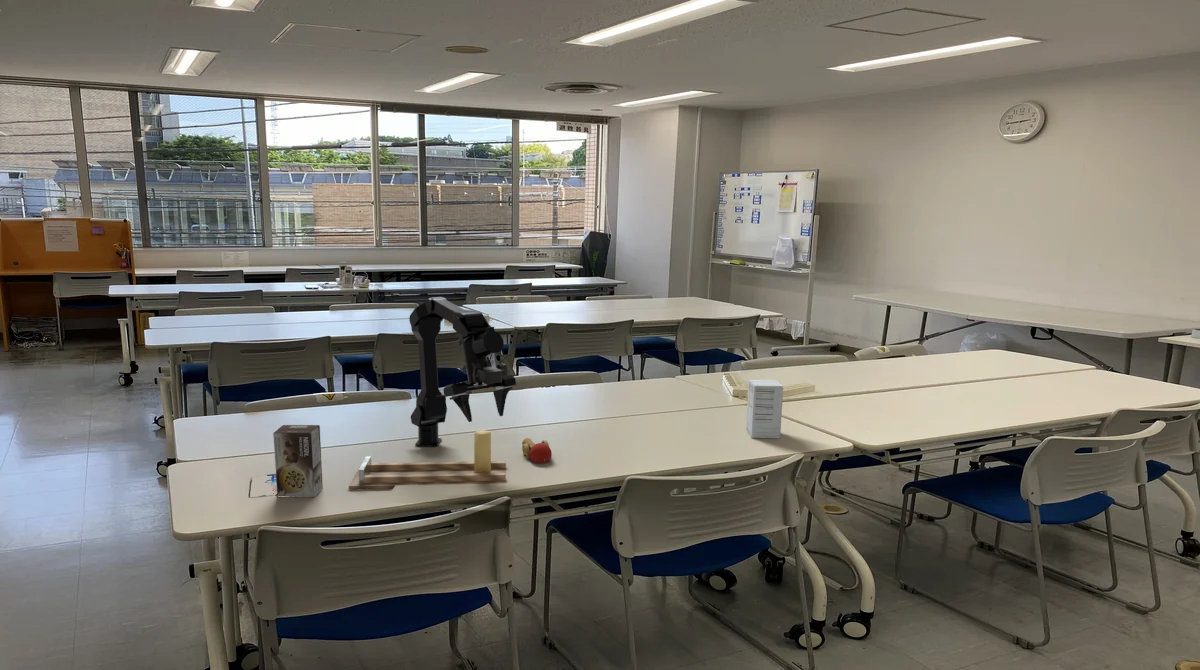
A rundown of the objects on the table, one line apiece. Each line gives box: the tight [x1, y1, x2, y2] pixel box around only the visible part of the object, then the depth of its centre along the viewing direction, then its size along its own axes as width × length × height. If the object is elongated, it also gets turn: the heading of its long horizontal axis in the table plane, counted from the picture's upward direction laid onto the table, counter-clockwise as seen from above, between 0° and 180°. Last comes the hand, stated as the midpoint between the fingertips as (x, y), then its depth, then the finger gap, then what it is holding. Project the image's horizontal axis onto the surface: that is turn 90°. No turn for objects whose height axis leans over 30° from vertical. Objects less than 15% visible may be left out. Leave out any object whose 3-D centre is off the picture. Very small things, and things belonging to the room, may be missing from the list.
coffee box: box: [272, 424, 324, 498], centre depth 180 cm, size 9×6×16 cm
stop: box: [358, 455, 372, 483], centre depth 191 cm, size 1×10×4 cm, turn 7°
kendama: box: [521, 437, 552, 464], centre depth 211 cm, size 8×6×18 cm
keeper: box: [473, 429, 492, 473], centre depth 194 cm, size 4×4×11 cm
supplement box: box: [745, 379, 784, 440], centre depth 237 cm, size 10×9×17 cm
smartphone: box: [265, 473, 277, 494], centre depth 185 cm, size 8×1×15 cm
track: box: [348, 460, 507, 491], centre depth 193 cm, size 38×14×2 cm, turn 97°
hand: (486, 418), depth 194 cm, fingers open, 9 cm apart
